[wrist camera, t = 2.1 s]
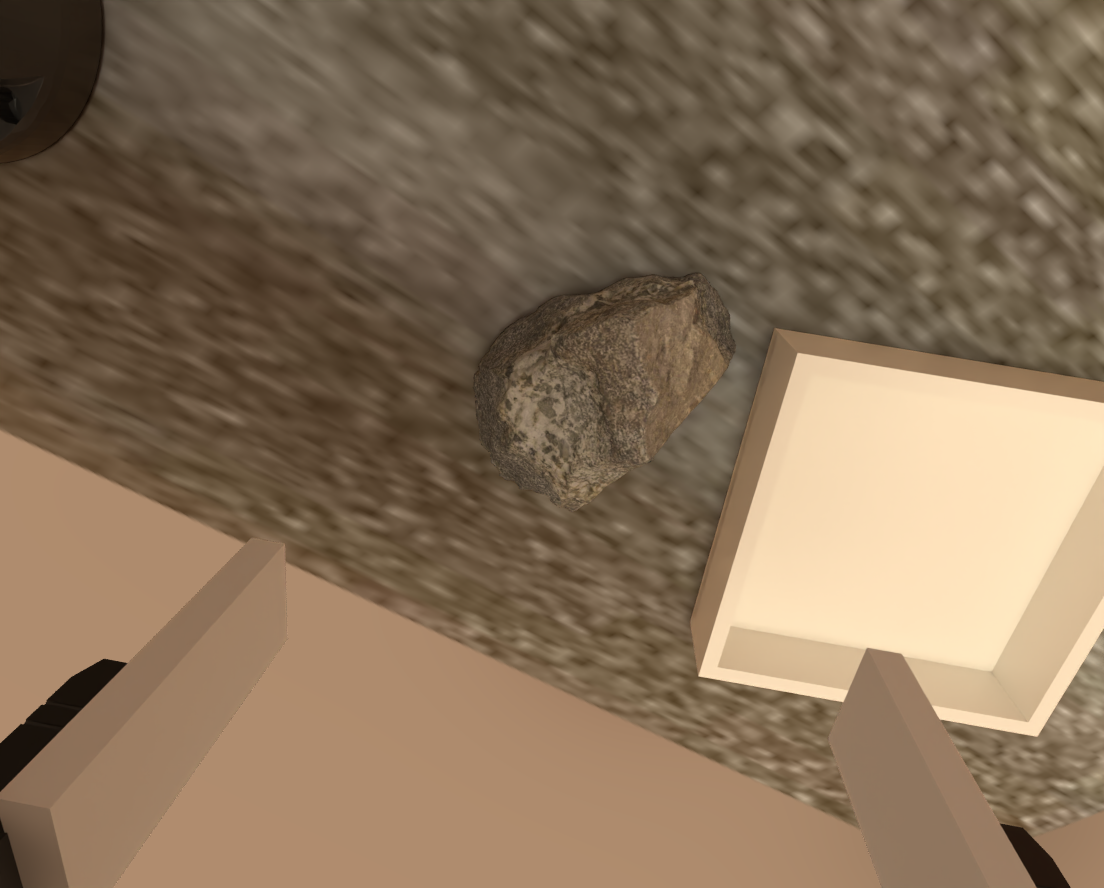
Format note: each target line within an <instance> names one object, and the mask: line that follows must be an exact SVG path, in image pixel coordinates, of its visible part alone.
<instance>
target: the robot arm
mask: <svg viewBox="0 0 1104 888" xmlns="http://www.w3.org/2000/svg"><path fill="white" fill-rule="evenodd" d="M101 37H102V15H101V3H100V0H0V163H5V162H12V161H16V160H20V159H24V158H27V157H30V156H32V155H34V154H37V153H39V152H41V151H43V150H44V149H46V148H47V147H49V146H51V145H52V144H53V143H54V142H56V141H57V140H58V139H59V138H60V137H62V136H63V135H64V134H65V133H66V132H67V131H68V129H69V128H70V127H71V126H72V125H73V123H74V122H75V121H76V119H77V118H78V116H79V115H80V113H81V111H82V110H83V108H84V106H85V104H86V102H87V100H88V97H89V95H90V93H91V90H92V87H93V84H94V81H95V77H96V73H97V69H98V64H99V59H100V50H101ZM285 570H286V569H285V544H284V543H279V542H273V541H268V540H262V539H256V538H251V539H250V540H249V541H248V542H247V543H246V544H245V545H244V546H243V547H242V548H241V549H240V550H239V551H238V553H236V554H235V555H234V556H233V557H232V558H231V559H230V560H229V561H228V562H227V564H225V566H224V567H223V568H221V570H220V571H218V573H217V574H216V575H215V576H214V577H213V578H212V579H211V580H210V581H209V582H208V583H207V584H206V585H205V586H204V587H203V588H202V589H201V590H200V591H199V592H198V593H197V594H196V595H195V596H194V597H193V598H192V599H191V600H190V601H189V602H188V603H187V604H186V605H185V606H184V607H183V608H182V609H181V610H180V611H179V612H178V613H177V614H176V615H175V616H174V617H173V618H172V619H171V620H170V621H169V622H168V623H167V624H166V625H165V626H164V627H163V628H162V629H161V630H160V631H159V632H158V633H157V634H156V635H155V636H154V637H153V638H152V640H150V642H148V643H147V644H146V646H144V647H143V648H142V649H141V650H140V651H139V652H138V653H137V654H136V655H135V656H134V657H133V659H131V660H130V662H129V663H124V662H119V661H113V660H108V659H103V660H101V661H99V662H97V663H96V664H94V665H92V666H90V667H88V668H87V669H85V670H83V671H81V672H79V673H78V674H76V675H74V676H72V677H71V678H70V679H69V680H68V681H67V682H66V683H65V684H64V685H62V686H61V687H60V688H59V689H58V690H57V691H56V692H55V693H54V694H53V695H52V696H51V697H50V698H48V700H47V702H46V704H45V705H41V706H40V707H39V708H38V709H37V710H36V711H34V712H33V713H32V714H31V715H30V716H29V717H28V718H27V719H26V722H25V724H20V725H19V726H18V727H17V728H16V729H15V730H14V731H13V732H12V733H11V734H10V735H9V736H8V737H7V738H5V739H4V740H3V741H2V742H1V743H0V888H113V887H114V886H115V884H116V883H117V881H118V880H119V878H120V877H121V876H122V874H123V873H124V871H125V870H126V868H127V867H128V866H129V864H130V863H131V861H132V860H133V859H134V857H135V856H136V854H137V853H138V851H139V850H140V849H141V847H142V846H143V844H144V843H145V841H146V840H147V839H148V837H149V836H150V834H151V833H152V831H153V830H154V829H155V827H156V826H157V824H158V823H159V822H160V820H161V819H162V817H163V816H164V814H165V813H166V812H167V810H168V809H169V807H170V806H171V804H172V803H173V802H174V800H175V799H176V797H177V796H178V794H179V793H180V792H181V790H182V788H183V787H184V786H185V785H186V783H187V782H188V780H189V779H190V777H191V776H192V774H193V773H194V772H195V770H196V769H197V767H198V766H199V764H200V763H201V762H202V760H203V759H204V757H205V756H206V755H207V753H208V752H209V750H210V749H211V747H212V746H213V745H214V743H215V742H216V740H217V739H218V738H219V736H220V734H221V733H222V732H223V730H224V729H225V728H226V726H227V725H228V723H229V722H230V720H231V719H232V718H233V716H234V715H235V713H236V712H237V710H238V709H239V708H240V706H241V705H242V703H243V702H244V700H245V699H246V698H247V696H248V695H249V693H250V692H251V691H252V689H253V687H254V686H255V685H256V683H257V682H258V681H259V679H260V678H261V676H262V675H263V673H264V672H265V671H266V669H267V668H268V666H269V665H270V663H271V662H272V661H273V659H274V658H275V656H276V655H277V653H278V652H279V651H280V649H281V648H282V646H283V645H284V644H285V642H286V641H287V612H286V611H287V609H286V571H285ZM828 741H829V744H830V746H831V749H832V752H833V755H834V757H835V760H836V763H837V766H838V768H839V771H840V774H841V777H842V780H843V782H844V785H845V788H846V791H847V793H848V796H849V799H850V802H851V804H852V807H853V810H854V813H855V815H856V818H857V821H858V824H859V827H860V829H861V832H862V834H863V837H864V840H865V842H866V846H867V848H868V851H869V854H870V857H871V859H872V862H873V865H874V868H875V871H876V874H877V876H878V879H879V882H880V885H881V887H882V888H1070V886H1069V884H1068V883H1067V881H1066V880H1065V878H1064V876H1063V875H1062V873H1061V872H1060V870H1059V868H1058V867H1057V865H1056V864H1055V862H1054V861H1053V859H1052V858H1051V857H1050V856H1049V854H1048V853H1047V852H1046V851H1045V850H1044V849H1043V848H1042V847H1041V846H1040V845H1039V844H1038V843H1037V842H1036V841H1035V840H1034V839H1033V838H1032V837H1031V836H1030V835H1029V834H1028V833H1027V832H1026V831H1025V830H1024V829H1023V828H1021V827H1016V826H1010V825H1005V824H1000V823H999V822H998V820H997V818H996V816H995V815H994V813H993V811H992V809H991V808H990V806H989V804H988V802H987V801H986V799H985V797H984V795H983V794H982V792H981V790H980V789H979V787H978V785H977V783H976V782H975V780H974V778H973V776H972V775H971V773H970V771H969V769H968V768H967V766H966V764H965V763H964V761H963V759H962V757H961V756H960V754H959V752H958V750H957V749H956V747H955V745H954V743H953V742H952V740H951V738H950V736H949V735H948V733H947V731H946V730H945V728H944V726H943V724H942V723H941V721H940V719H939V717H938V716H937V714H936V712H935V710H934V709H933V707H932V705H931V703H930V702H929V700H928V698H927V697H926V695H925V693H924V691H923V690H922V688H921V686H920V684H919V683H918V681H917V679H916V677H915V676H914V674H913V672H912V671H911V669H910V667H909V665H908V664H907V662H906V660H905V658H904V657H903V655H902V654H900V653H895V652H889V651H883V650H878V649H872V648H866V651H865V653H864V655H863V658H862V660H861V662H860V665H859V667H858V669H857V672H856V674H855V676H854V679H853V681H852V683H851V686H850V688H849V690H848V693H847V695H846V697H845V700H844V702H843V704H842V707H841V709H840V711H839V714H838V716H837V718H836V721H835V723H834V725H833V728H832V730H831V732H830V735H829V737H828Z"/></svg>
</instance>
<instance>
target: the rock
mask: <svg viewBox="0 0 1104 888" xmlns="http://www.w3.org/2000/svg"><path fill="white" fill-rule="evenodd" d="M735 351H736V344H735V341H734V340H733V339H732V336H731V333H730V315H729V312H728V310H727V309H726V308H725V307H724V305H723V303H722V301H721V299H720V296H719V294H718V292H717V290H715V289H714V288H712V287H711V285H710V283H709V281H707V280H706V279H705V277H704V276H703V275H702V274H701V273H700V274H698V273H697V274H695V273H694V274H692V275H687V276H686V277H684V278H675V277H668V278H667V277H660V276H657V275H649V276H645V277H639V278H625V279H623V280H620V281H618V282H616V283H614V284H612V285H611V286H609V287H607V288H605V289H603V290H601V291H600V292H597V293H592V294H587V295H571V296H566V295H563V296H559V297H555V298H553V299H551V300H549V301H548V302H546V303H545V304H544V305H542V306H540V307H539V308H538V310H537V312H536V313H533V314H531V315H529V316H528V317H522V318H521V319H518V320H517V321H516V322H515V323H513V324H512V325H511V326H509V327H508V328H506V329H505V331H504V332H502V333H501V334H500V336H499V337H498V338H497V340H496V341H495V343H494V344H493V345H492V346H491V348H490V352H489V353H487V354H486V355H485V356H484V357H483V359H482V361H481V363H480V364H479V369H480V371H477V372H476V373H475V374H474V387H473V389H474V392H475V397H476V401H475V403H476V416H477V420H478V424H479V429H480V430H479V437H480V441H481V445H482V446H483V447H484V448H485V449H486V450H487V451H488V452H490V457H491V463H492V464H494V466H497V468H498V470H499V472H500V475H499V476H502V477H503V478H504V479H505V480H512V481H515V483H516V484H517V485H518V486H519V489H525V490H533V491H535V492H537V493H541V494H545V495H547V496H548V497H549V499H550V501H551V502H553V503H554V504H555V505H557V506H558V507H562V506H564V507H565V508H567V509H569V511H571V512H573V511H576V510H577V509H579V508H580V507H581V506H582V505H584V504H588V503H590V502H591V501H592V500H593V499H594V498H595V497H596V496H597V495H598V494H599V493H600V492H602V490H603V489H604V488H605V487H606V486H607V485H609V484H611V483H613V482H615V481H616V480H617V479H619V478H620V477H622V476H623V475H624V474H625V473H627V472H629V471H631V470H633V469H634V468H636V467H641V466H643V465H644V464H646V463H649V462H651V461H653V457H654V455H655V454H656V453H657V452H658V451H659V449H660V448H661V447H662V446H663V445H664V443H665V442H666V441H667V439H668V438H669V436H670V435H671V434H672V433H673V431H674V430H675V429H676V428H677V427H678V426H679V425H680V424H681V423H682V422H683V421H684V419H685V418H686V417H687V416H688V415H689V413H690V412H691V411H692V410H693V409H694V408H695V407H696V406H697V405H698V404H699V403H700V402H701V401H702V399H703V398H704V397H705V396H706V394H707V393H708V392H709V391H710V390H711V389H712V387H713V386H714V385H715V384H716V383H717V381H718V380H719V379H720V378H721V376H722V375H723V374H724V372H725V371H726V369H727V368H728V366H729V362H730V360H731V359H732V357H733V354H734V353H735Z"/></svg>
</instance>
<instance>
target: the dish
mask: <svg viewBox="0 0 1104 888" xmlns="http://www.w3.org/2000/svg"><path fill="white" fill-rule="evenodd" d="M690 625H691V632H692V638H693V644H694V651H695V657H696V663H697V670H698V676H701V677H706V678H712V679H717V680H723V681H729V682H734V683H740V684H745V685H751V686H757V687H762V688H768V689H773V690H779V691H785V692H790V693H796V694H801V695H807V696H813V697H818V698H824V699H829V700H835V701H841V702H844V700H845V697H846V695H847V693H848V690H849V688H850V686H851V683H852V681H853V679H854V676H855V674H856V672H857V669H858V667H859V665H860V662H861V660H862V658H863V655H864V653H865V651H866V648H872V649H878V650H883V651H889V652H895V653H900V654H902V655H903V657H904V658H905V660H906V662H907V664H908V665H909V667H910V669H911V671H912V672H913V674H914V676H915V677H916V679H917V681H918V683H919V684H920V686H921V688H922V690H923V691H924V693H925V695H926V697H927V698H928V700H929V702H930V703H931V705H932V707H933V709H934V710H935V712H936V714H937V716H938V717H939V719H942V720H947V721H953V722H958V723H964V724H970V725H975V726H981V727H986V728H992V729H998V730H1003V731H1009V732H1014V733H1020V734H1026V735H1031V736H1038V734H1039V733H1040V731H1041V730H1042V728H1043V726H1044V725H1045V723H1046V721H1047V720H1048V718H1049V716H1050V715H1051V713H1052V712H1053V710H1054V708H1055V707H1056V705H1057V703H1058V702H1059V700H1060V699H1061V697H1062V695H1063V694H1064V692H1065V690H1066V689H1067V687H1068V686H1069V684H1070V682H1071V681H1072V679H1073V677H1074V676H1075V674H1076V672H1077V671H1078V669H1079V668H1080V666H1081V664H1082V663H1083V661H1084V659H1085V658H1086V656H1087V655H1088V653H1089V651H1090V650H1091V648H1092V646H1093V645H1094V643H1095V642H1096V640H1097V638H1098V637H1099V635H1100V633H1101V632H1102V630H1103V628H1104V382H1102V381H1095V380H1089V379H1083V378H1077V377H1071V376H1065V375H1059V374H1053V373H1047V372H1040V371H1034V370H1028V369H1022V368H1016V367H1010V366H1004V365H998V364H992V363H985V362H979V361H973V360H967V359H961V358H955V357H949V356H943V355H937V354H930V353H924V352H918V351H912V350H906V349H900V348H894V347H888V346H882V345H875V344H869V343H863V342H857V341H851V340H845V339H839V338H833V337H827V336H820V335H814V334H808V333H802V332H796V331H790V330H784V329H778V328H774V331H773V335H772V338H771V342H770V345H769V349H768V352H767V356H766V359H765V363H764V366H763V370H762V373H761V377H760V380H759V384H758V387H757V391H756V394H755V397H754V401H753V404H752V408H751V411H750V415H749V418H748V422H747V425H746V429H745V432H744V436H743V439H742V443H741V446H740V450H739V453H738V457H737V460H736V464H735V467H734V471H733V474H732V477H731V481H730V484H729V488H728V491H727V495H726V498H725V502H724V505H723V509H722V512H721V516H720V519H719V523H718V526H717V530H716V533H715V537H714V540H713V544H712V547H711V551H710V554H709V557H708V561H707V564H706V568H705V571H704V575H703V578H702V582H701V585H700V589H699V592H698V596H697V599H696V603H695V606H694V610H693V613H692V617H691V620H690Z"/></svg>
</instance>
